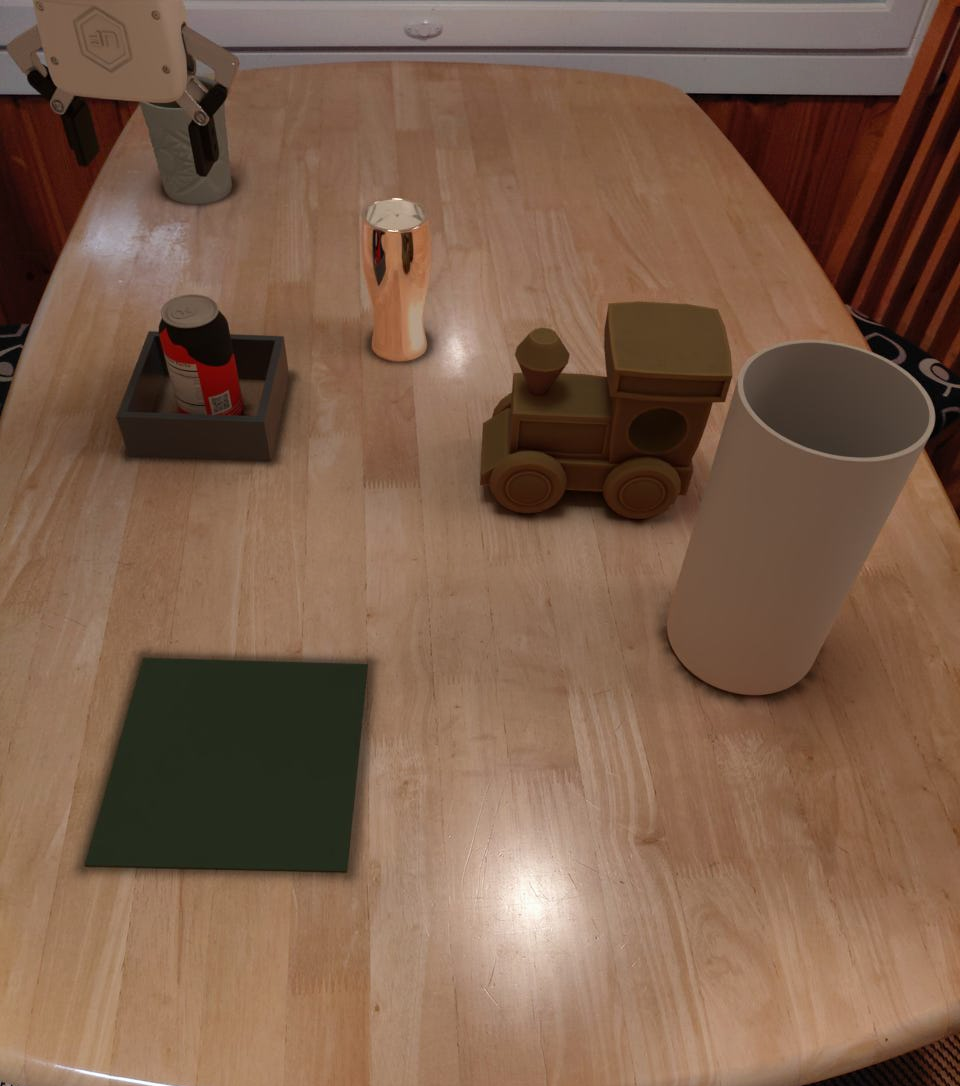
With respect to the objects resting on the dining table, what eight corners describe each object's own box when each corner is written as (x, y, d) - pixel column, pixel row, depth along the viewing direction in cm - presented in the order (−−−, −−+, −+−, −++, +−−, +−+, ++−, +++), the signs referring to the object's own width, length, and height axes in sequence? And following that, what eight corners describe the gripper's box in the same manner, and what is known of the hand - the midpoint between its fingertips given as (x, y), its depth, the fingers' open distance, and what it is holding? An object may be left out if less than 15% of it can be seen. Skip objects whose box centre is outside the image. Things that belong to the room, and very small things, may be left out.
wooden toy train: (680, 448, 97) (719, 299, 84) (693, 529, 90) (737, 380, 77) (481, 438, 96) (489, 287, 83) (478, 518, 89) (486, 366, 76)
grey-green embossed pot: (160, 210, 122) (137, 110, 112) (157, 172, 128) (135, 74, 118) (241, 204, 123) (226, 105, 114) (235, 167, 129) (220, 70, 120)
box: (129, 458, 93) (115, 416, 89) (159, 372, 101) (148, 330, 97) (271, 463, 93) (264, 421, 89) (289, 377, 101) (283, 335, 98)
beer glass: (380, 371, 103) (373, 237, 91) (358, 335, 107) (349, 203, 95) (440, 357, 105) (441, 224, 93) (417, 322, 109) (415, 191, 97)
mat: (85, 867, 66) (84, 865, 66) (144, 660, 78) (143, 657, 77) (347, 873, 67) (346, 871, 67) (367, 666, 78) (367, 663, 78)
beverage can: (255, 421, 97) (236, 316, 87) (197, 444, 94) (171, 337, 85) (227, 389, 100) (206, 283, 90) (170, 409, 97) (142, 303, 88)
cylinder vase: (663, 577, 86) (732, 331, 66) (804, 592, 85) (915, 349, 66) (666, 691, 78) (744, 450, 58) (821, 707, 77) (953, 470, 58)
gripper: (-61, -85, 63) (26, 177, 76) (200, -65, 62) (241, 195, 76) (-14, -118, 67) (60, 134, 81) (230, -100, 67) (264, 151, 80)
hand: (148, 164), depth 78 cm, fingers open, 9 cm apart
